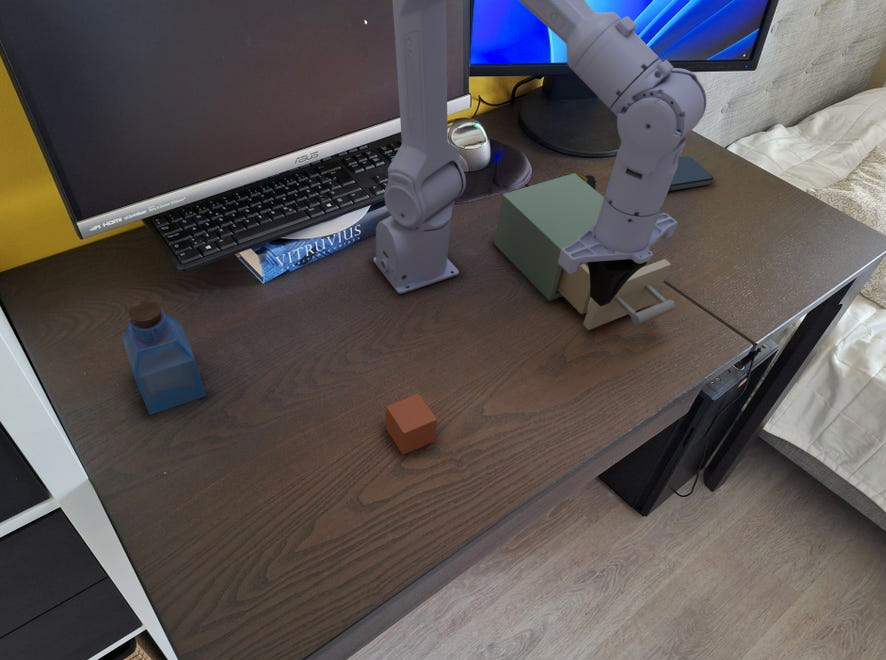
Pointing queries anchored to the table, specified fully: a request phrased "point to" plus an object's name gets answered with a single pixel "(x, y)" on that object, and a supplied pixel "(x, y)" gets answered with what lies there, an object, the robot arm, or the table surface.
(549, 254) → the cabinet
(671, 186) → the smartphone
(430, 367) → the table surface
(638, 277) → the drawer
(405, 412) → the block
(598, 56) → the robot arm
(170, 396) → the perfume bottle
